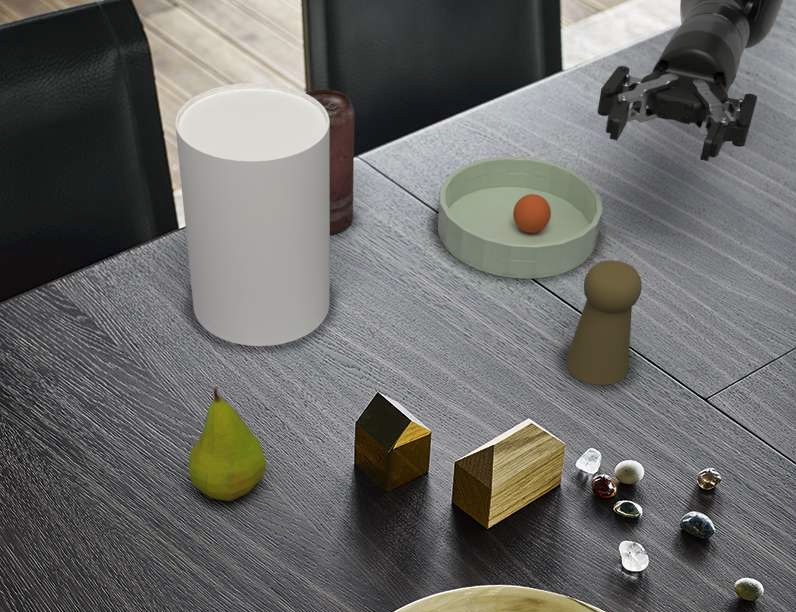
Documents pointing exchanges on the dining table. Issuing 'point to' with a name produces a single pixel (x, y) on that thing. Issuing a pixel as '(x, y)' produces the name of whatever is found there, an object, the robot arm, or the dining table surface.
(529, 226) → the ball
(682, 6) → the robot arm
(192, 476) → the fruit
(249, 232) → the canister
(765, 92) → the dining table surface
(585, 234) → the bowl
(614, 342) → the brown pawn
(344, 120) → the can
